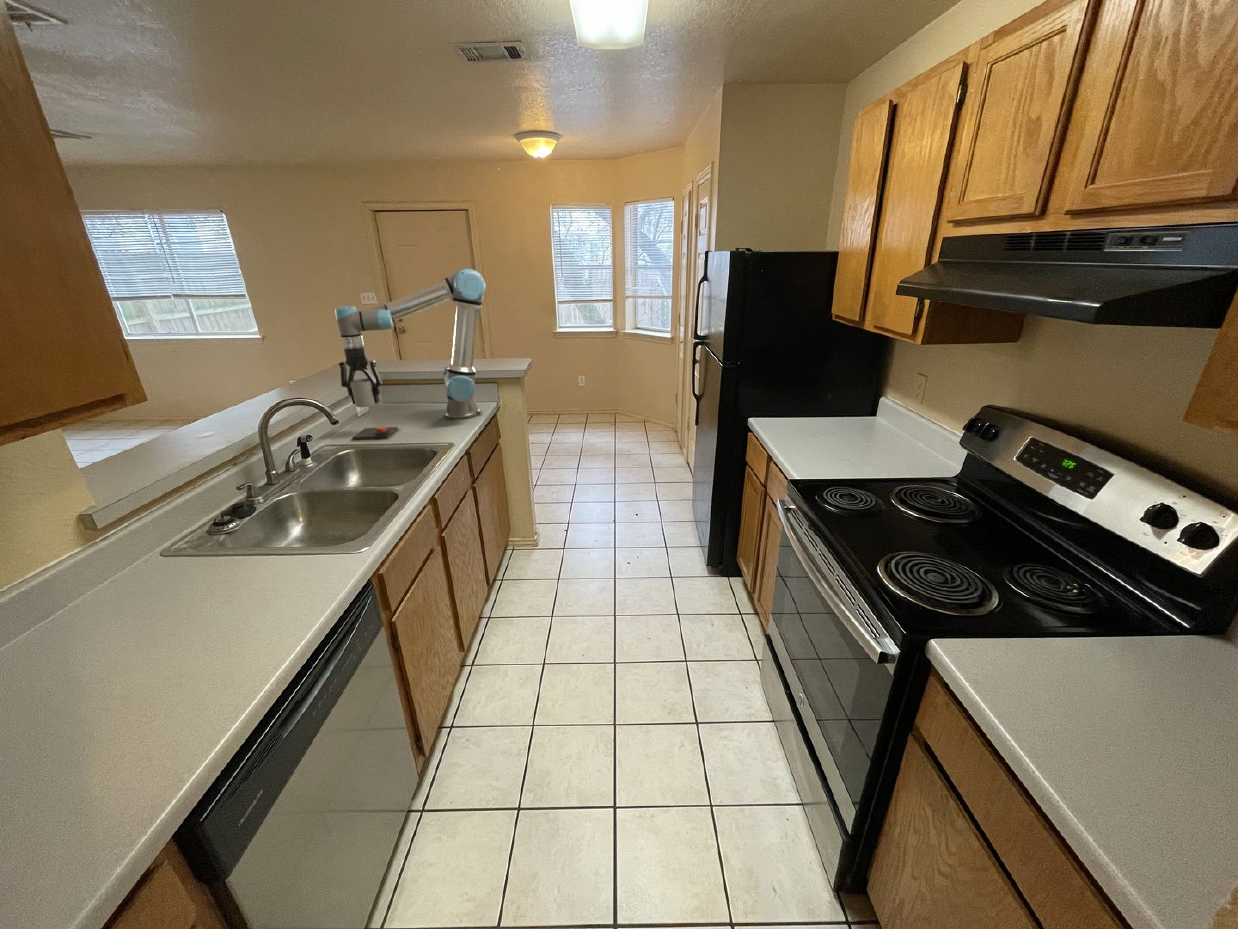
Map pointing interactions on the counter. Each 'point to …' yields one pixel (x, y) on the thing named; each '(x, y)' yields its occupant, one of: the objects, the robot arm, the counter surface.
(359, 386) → the cup
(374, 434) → the scale
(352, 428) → the counter surface
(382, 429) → the tare button
